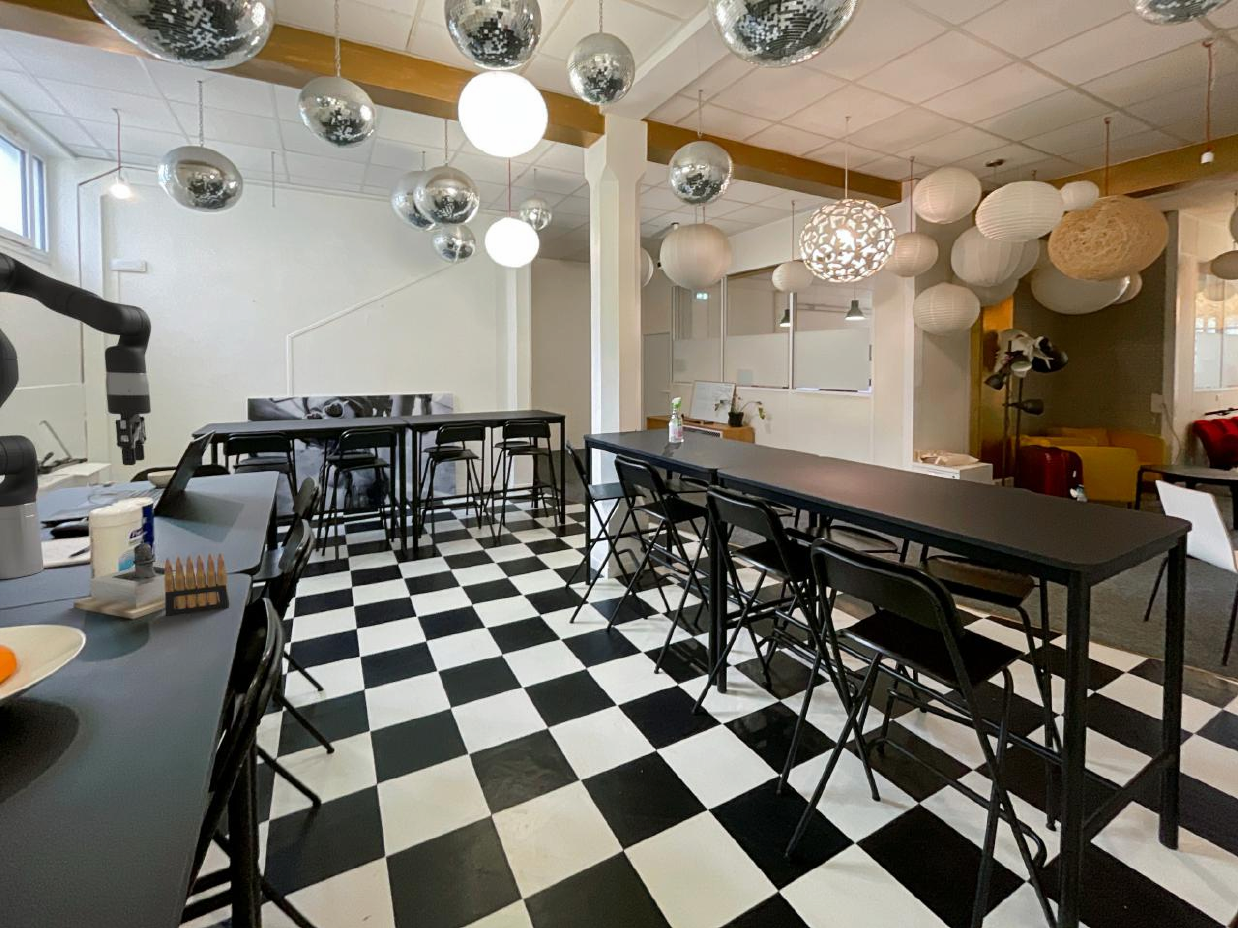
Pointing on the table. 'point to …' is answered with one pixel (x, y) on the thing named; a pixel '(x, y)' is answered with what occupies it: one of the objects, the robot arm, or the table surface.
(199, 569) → the ammunition clip
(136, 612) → the base board
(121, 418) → the robot arm
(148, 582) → the square socket
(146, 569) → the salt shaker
